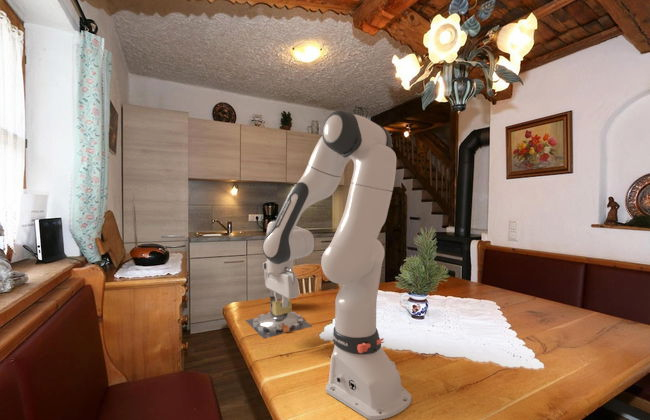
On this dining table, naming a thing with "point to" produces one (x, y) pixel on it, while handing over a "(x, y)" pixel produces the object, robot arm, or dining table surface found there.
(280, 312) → the brass link
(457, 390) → the dining table surface
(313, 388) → the dining table surface
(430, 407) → the dining table surface
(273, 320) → the sprocket
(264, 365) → the dining table surface
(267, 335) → the base plate
